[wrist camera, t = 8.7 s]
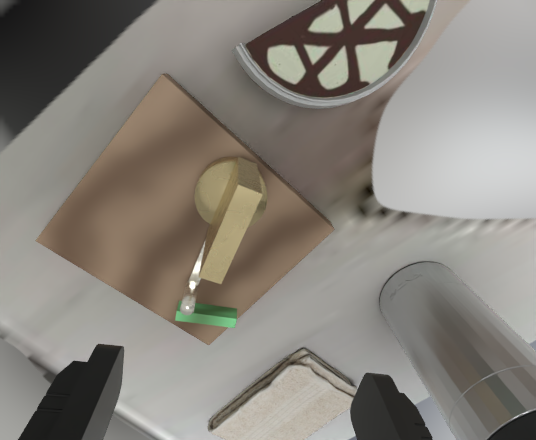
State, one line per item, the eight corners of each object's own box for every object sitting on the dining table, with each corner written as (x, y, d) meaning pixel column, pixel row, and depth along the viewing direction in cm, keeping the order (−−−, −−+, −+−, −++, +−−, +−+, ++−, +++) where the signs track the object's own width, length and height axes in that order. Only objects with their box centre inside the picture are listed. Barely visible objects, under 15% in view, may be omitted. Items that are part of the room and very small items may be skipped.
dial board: (329, 220, 34) (339, 237, 30) (210, 332, 39) (207, 356, 35) (167, 73, 27) (157, 74, 24) (47, 231, 32) (25, 249, 29)
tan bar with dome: (213, 140, 27) (202, 170, 19) (279, 167, 29) (295, 207, 21) (161, 278, 32) (134, 349, 24) (219, 296, 34) (212, 368, 26)
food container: (268, 124, 29) (281, 149, 20) (233, 55, 27) (230, 48, 18) (398, 54, 28) (475, 46, 19) (374, -26, 25) (449, -79, 16)
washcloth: (360, 380, 45) (368, 401, 42) (269, 448, 49) (271, 471, 47) (299, 339, 41) (303, 358, 38) (206, 416, 45) (204, 439, 43)
